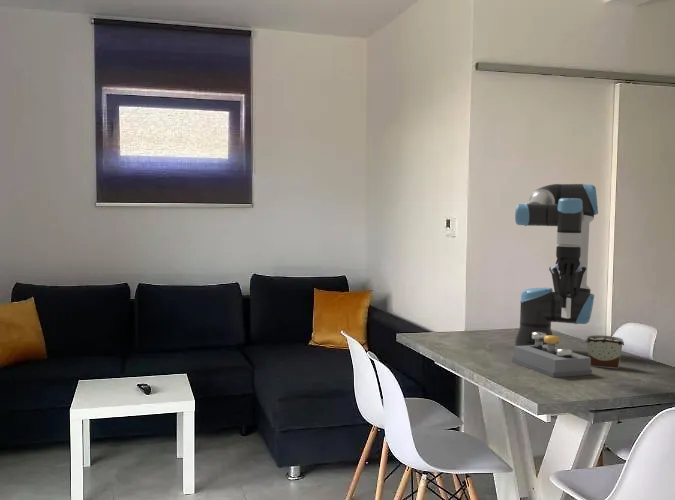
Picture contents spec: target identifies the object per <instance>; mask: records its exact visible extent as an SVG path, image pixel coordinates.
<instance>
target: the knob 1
mask: <svg viewBox="0 0 675 500" xmlns="http://www.w3.org/2000/svg"><path fill="white" fill-rule="evenodd" d="M545 335H546V333H544V332H532V339H535V348H536V349H539V350H542V348H543V340H544V336H545Z"/></svg>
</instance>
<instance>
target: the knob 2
mask: <svg viewBox="0 0 675 500" xmlns="http://www.w3.org/2000/svg"><path fill="white" fill-rule="evenodd" d="M572 352H573V349H571V348H566V347H563V348H562V347H557V356H560V357H563V358H568V357H572Z"/></svg>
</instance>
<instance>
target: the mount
mask: <svg viewBox="0 0 675 500" xmlns="http://www.w3.org/2000/svg"><path fill="white" fill-rule="evenodd" d="M557 348H558V347H557V346H555V355H554V354H551V353H548V352H547V345H543V348H542V350H539V349H536V348H535V345H528V346H515V345H514V346H513V357H511V362H512V363H514V364H517V365H520V366H522V367H525V368H527V369H529V370H532V371H535V372H537V373H540V374H542V375H543V374H544V375H546V376H548V377H551V378H560V377H561V378H563V377H575V376H576V377H577V376H589V375H590V376H591V375H592V374H593V373H592V372H593V370H592V369H591V367H592V366H591V358H589V356H585V355H583V354H579V353H576V352H574V351H572V357H568V358H563V357H560V356H557Z"/></svg>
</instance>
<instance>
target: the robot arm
mask: <svg viewBox="0 0 675 500" xmlns="http://www.w3.org/2000/svg"><path fill="white" fill-rule="evenodd" d="M597 196H598V195H597V188H596V186H595V185H594V184H590V183H589V184H587V183H567V184H566V183H563V184H562V183H561V184H560V183H555V184H554V183H552V184H549V185H545V186H542V187H539V188H536V190H534V191H533V192H532V193H531V194H530V196H529V200H528V202H527V203H517V205H516V206H515V212H514V213H515V214H514V215H515V216H514V218H515V219H514V220H515V224H516V225H518V226H525V227H527V226H531V227H532V226H534V227H536V226H537V227H538V226H540V227H542V226H544V227H557V229H556V230H557V231H556V245H557V246H556V250H555V254H556V255H555V256H556V261H555V265H553V266H550V267H548V270H549V272H550V274H551V279H552V283H553V288H552V287H545V286H544V287H533V288H527V289H524V290H522V292H521V293H520V301H519V302H520V309H519V311H520V313H519V314H520V317H519V328H518V331H517V333H516V337H515V339H514V346H528V345H535V339H532V332H544V333H546V335H553V332H552V323H562V324H574V325H587V324H588V323H589V322H590V321H591V317H592V311H593V307H594V301H595V300H594V299H595V294H594V293H591V291H592V290H591V287H589V286H588V283H587V281H588V263H589V262H588V260H589V241H590V240H589V239H590V223H591V222H593V221H594V220H595V216H596V215H598V214H599V210H598V209H599V207H598V206H599V205H598V197H597ZM543 345H547V343H545V342H544V340H543Z"/></svg>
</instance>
